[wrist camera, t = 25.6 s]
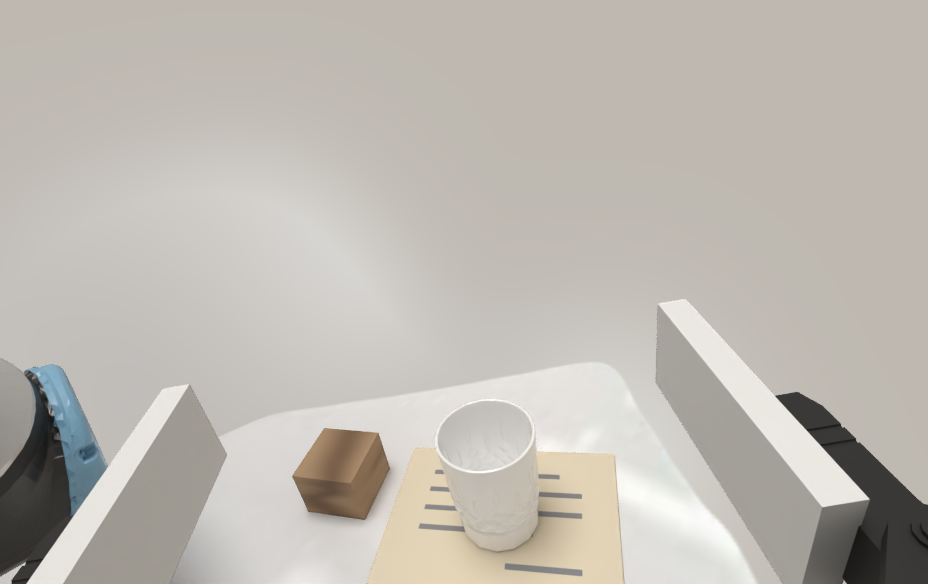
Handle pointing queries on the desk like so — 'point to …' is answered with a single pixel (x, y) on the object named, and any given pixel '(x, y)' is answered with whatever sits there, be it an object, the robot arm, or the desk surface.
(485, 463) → the white cup
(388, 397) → the desk surface
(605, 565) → the letter
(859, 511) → the robot arm
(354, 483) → the block
